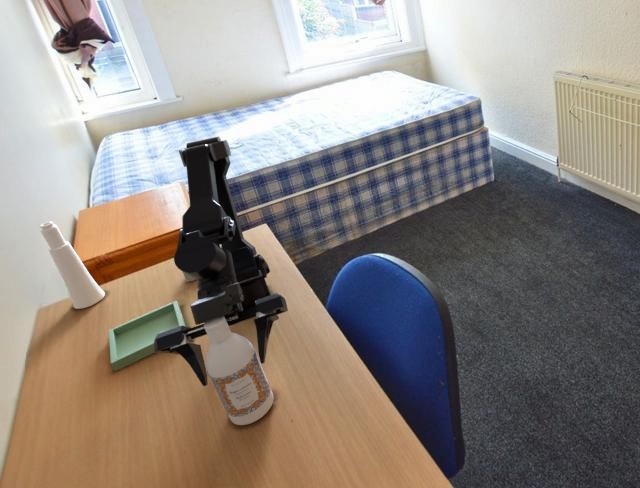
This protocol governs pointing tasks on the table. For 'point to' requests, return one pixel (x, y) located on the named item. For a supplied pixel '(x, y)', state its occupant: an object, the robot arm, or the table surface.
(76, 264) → the cosmetic bottle
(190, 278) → the usb wall charger
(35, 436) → the table surface
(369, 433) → the table surface
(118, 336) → the toiletries tray
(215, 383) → the bath foam
